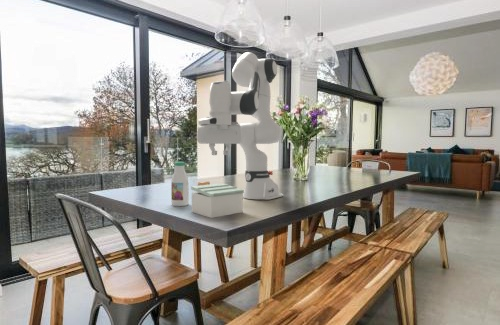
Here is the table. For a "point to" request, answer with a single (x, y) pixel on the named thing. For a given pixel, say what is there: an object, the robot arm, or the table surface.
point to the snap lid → (216, 189)
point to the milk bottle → (179, 186)
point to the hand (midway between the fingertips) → (220, 155)
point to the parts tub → (217, 204)
